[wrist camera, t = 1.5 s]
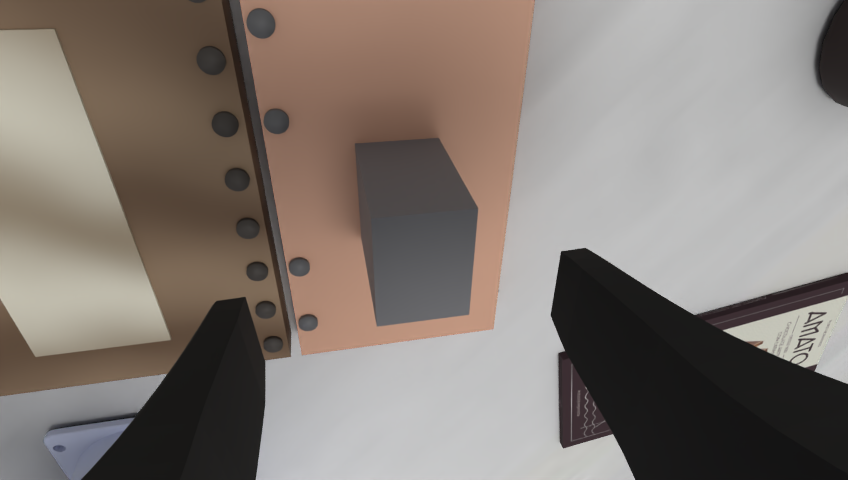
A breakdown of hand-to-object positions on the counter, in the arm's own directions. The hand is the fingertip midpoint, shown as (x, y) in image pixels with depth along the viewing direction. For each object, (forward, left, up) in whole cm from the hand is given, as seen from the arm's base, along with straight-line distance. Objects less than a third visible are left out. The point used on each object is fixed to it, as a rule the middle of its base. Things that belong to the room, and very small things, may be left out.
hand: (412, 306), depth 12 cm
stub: (-1, -1, -10) cm, 10 cm away
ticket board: (-1, +10, -10) cm, 14 cm away
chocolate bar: (-16, -20, -10) cm, 28 cm away
